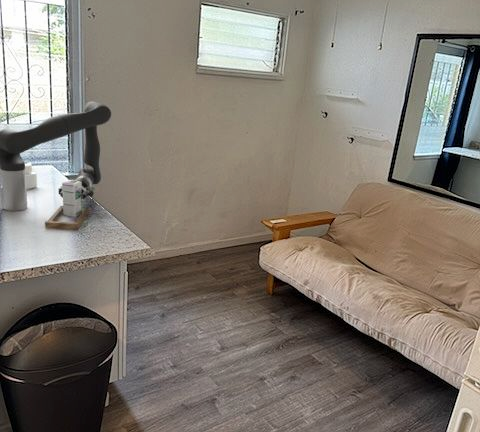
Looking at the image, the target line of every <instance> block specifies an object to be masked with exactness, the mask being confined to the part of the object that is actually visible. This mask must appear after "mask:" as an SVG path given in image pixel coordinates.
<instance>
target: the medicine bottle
mask: <svg viewBox="0 0 480 432" xmlns="http://www.w3.org/2000/svg"><path fill="white" fill-rule="evenodd" d="M24 163H25V174H26V191H27V190H30V189H33V188H34V189H35V188H37V187H38V180H37V179H38V178H37V173H36V172H33V166H32V163H31V162H25V161H24Z"/></svg>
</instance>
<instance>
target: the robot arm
mask: <svg viewBox="0 0 480 432" xmlns="http://www.w3.org/2000/svg"><path fill="white" fill-rule="evenodd" d="M111 117H112V112H111V109H110V108H109V107H108V106H106V105H105V104H103V103H99V102H98V101H93V100H92V101H89V102H87V103H86V104H85V107H84V110H83V112H76V113H62V114H58V115H54V116H50V117H48V118H46V119H44V120H43V121H41V122H40V123H39V124H38V125H36V126H35V127H32V128H28V129H26V130H25V129H24V130H20V131H18V130H14V129H10V128H3V129H1V130H0V181H1V186H0V207H1V210H5V211H9V212H18V211H24V210H27V208H28V193H27V190H26V174H25V163H24V162H25V161H24V160H23V158H22V156H21V154H22V153H25V152H26V151H28V150H30V149H32V148H34V147H36V146H39V145H41V144H45V143H48V142H50V141H54V140H57V139H61V138H63V137H65V136H68V135H72V134H74V133H77V132H79V131H82V130H85V131H84V133H85V146H84V156H83V163H84V165H87V166H90V167H91V168H92V169H91V168H88V167H87V168H86V167H84V168H81V169H80V170H79V172H78V177H77V178H76V179H75V180H77V181H81V182H82V200H85V199H87V198H88V197H90V198H92V197H94V194H95V187H92V186H93V185H98V184H99V183H100V182H101V181H102V174H101V170H100V169H101V167H100V156H101V145H100V140H99V136H98V126H101V125H105V124H106V123H107V122H109V121H110V120H111ZM58 195H60V197H61V198H62V199H63V192H62V185H61V186H60V187H59V188H58Z"/></svg>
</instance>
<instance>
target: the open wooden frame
mask: <svg viewBox="0 0 480 432" xmlns="http://www.w3.org/2000/svg"><path fill="white" fill-rule="evenodd" d="M82 211H83V212H82V213H81V214H79V215H78V218H77V219H76V221H75V222H70V221H57V220H58V217H59V218H60V216H62V214H64V213H63V205H60V206H59V207H58V208H57V210H56V211H55V212H54V213H53V214H51V216H50V217H49V218H48V219H47V220H45V222H44V225H45V227H44V228H45V229H50V230H51V229H54V230H67V231H69V230H70V231H78V229H79V228H80V227H87V225H88V223H89V222H88V221H84V220H85V219H86V217H87V218H92V217H93V215H94V212H90V207H84V209H82Z"/></svg>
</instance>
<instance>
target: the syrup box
mask: <svg viewBox="0 0 480 432" xmlns="http://www.w3.org/2000/svg"><path fill="white" fill-rule="evenodd" d="M61 186H62V192H63V198H62V204H63V205H62V206H63V213H62V214H63V215H64V216H66V217H67V216H68V217H72V218H76V217H77V216H78V217H79V216H80V215H81V213H82V212H83V199H82V182H81V181H77V180H76V179H69V180H66V181H64V182H62V183H61Z"/></svg>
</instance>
